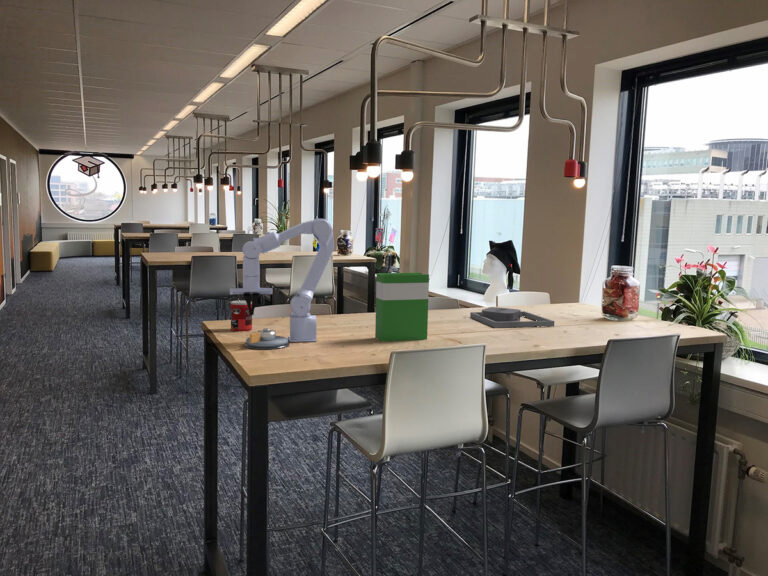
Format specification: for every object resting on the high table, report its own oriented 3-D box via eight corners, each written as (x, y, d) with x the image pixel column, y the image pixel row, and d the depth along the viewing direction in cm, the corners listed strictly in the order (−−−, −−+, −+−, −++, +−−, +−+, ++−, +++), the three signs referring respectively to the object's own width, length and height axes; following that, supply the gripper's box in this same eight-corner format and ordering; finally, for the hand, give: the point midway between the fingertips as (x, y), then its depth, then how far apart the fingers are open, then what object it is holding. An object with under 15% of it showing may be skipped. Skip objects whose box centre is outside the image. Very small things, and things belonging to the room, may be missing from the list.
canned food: (229, 328, 241) (229, 300, 240) (249, 327, 244) (249, 300, 243) (232, 332, 234) (232, 303, 233) (253, 331, 237) (253, 302, 236)
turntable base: (287, 340, 222) (287, 338, 222) (291, 349, 207) (291, 347, 207) (244, 341, 218) (244, 340, 218) (245, 350, 204) (245, 348, 204)
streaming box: (490, 318, 284) (491, 306, 284) (521, 321, 277) (522, 309, 276) (479, 322, 272) (479, 310, 271) (511, 325, 265) (511, 313, 264)
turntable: (265, 337, 222) (265, 325, 222) (296, 342, 215) (296, 330, 214) (235, 344, 210) (235, 331, 209) (266, 349, 202) (266, 336, 202)
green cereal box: (419, 335, 236) (420, 272, 234) (427, 339, 229) (429, 274, 227) (375, 337, 230) (376, 273, 227) (382, 341, 223) (383, 275, 221)
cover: (279, 339, 213) (279, 328, 213) (267, 341, 208) (267, 331, 208) (266, 337, 217) (266, 326, 216) (254, 339, 212) (254, 329, 211)
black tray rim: (524, 316, 289) (525, 311, 289) (554, 326, 263) (554, 321, 263) (470, 317, 282) (470, 312, 282) (494, 328, 256) (494, 322, 256)
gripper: (229, 277, 211) (230, 316, 212) (273, 277, 214) (273, 316, 216) (229, 275, 217) (229, 313, 219) (271, 275, 221) (271, 313, 222)
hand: (251, 314), depth 218 cm, fingers closed
